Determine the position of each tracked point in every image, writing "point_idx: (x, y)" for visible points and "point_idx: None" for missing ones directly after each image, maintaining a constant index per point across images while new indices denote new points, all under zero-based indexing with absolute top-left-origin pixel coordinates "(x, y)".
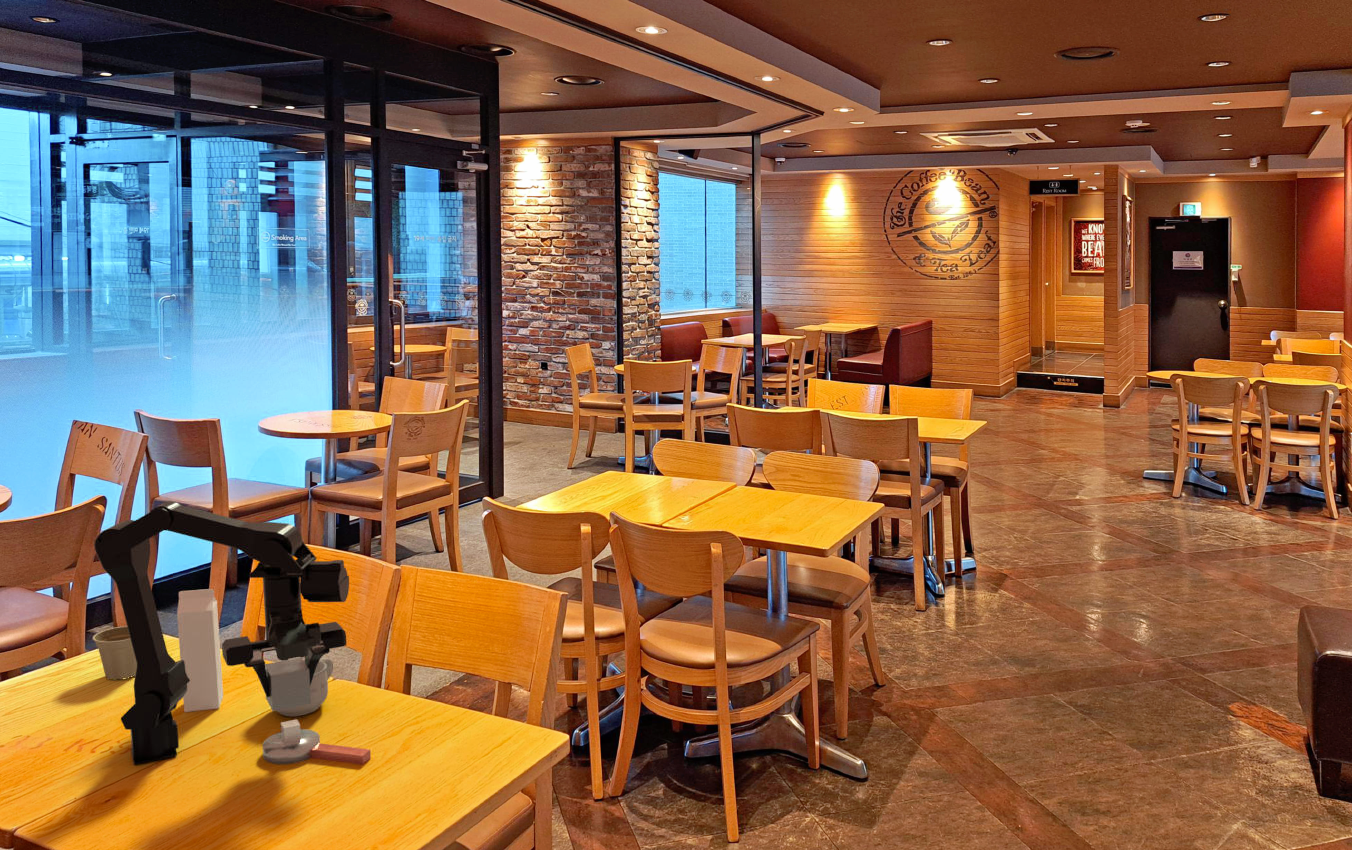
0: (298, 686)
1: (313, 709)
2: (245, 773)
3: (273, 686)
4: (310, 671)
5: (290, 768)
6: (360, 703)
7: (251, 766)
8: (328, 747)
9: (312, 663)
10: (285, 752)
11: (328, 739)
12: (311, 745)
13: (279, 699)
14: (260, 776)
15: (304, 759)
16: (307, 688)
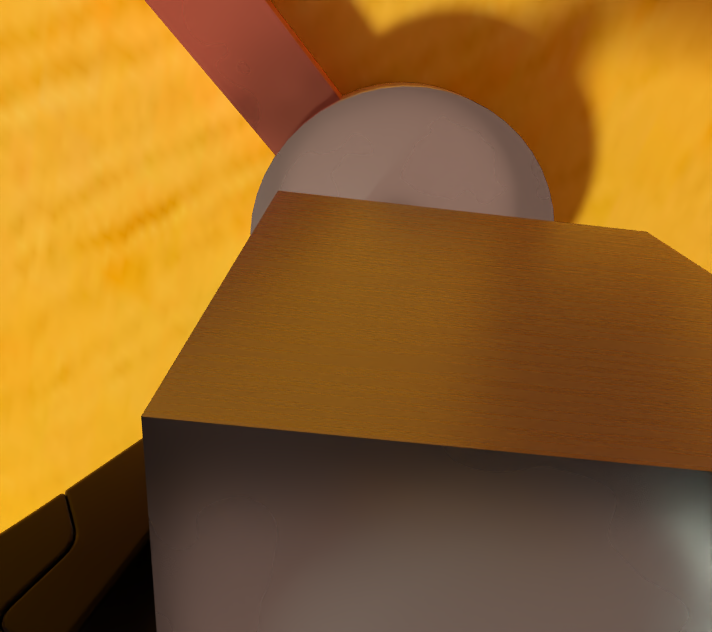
0: (406, 279)
1: None
2: (678, 124)
3: None
4: (137, 501)
5: (477, 27)
6: (6, 511)
7: (616, 188)
8: (240, 53)
9: (13, 615)
10: (487, 110)
11: (204, 258)
12: (328, 113)
13: (626, 259)
14: (643, 31)
15: (380, 84)
16: (281, 245)
